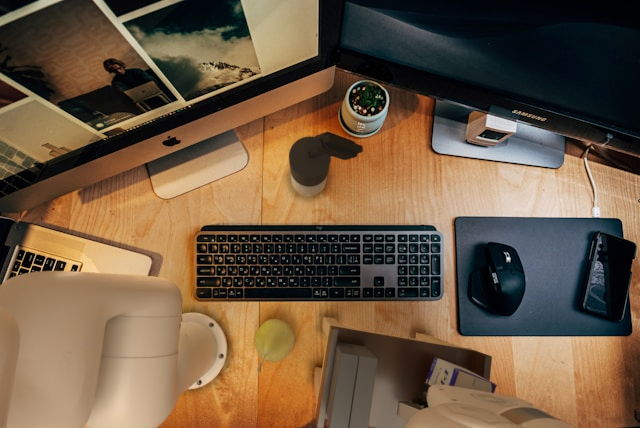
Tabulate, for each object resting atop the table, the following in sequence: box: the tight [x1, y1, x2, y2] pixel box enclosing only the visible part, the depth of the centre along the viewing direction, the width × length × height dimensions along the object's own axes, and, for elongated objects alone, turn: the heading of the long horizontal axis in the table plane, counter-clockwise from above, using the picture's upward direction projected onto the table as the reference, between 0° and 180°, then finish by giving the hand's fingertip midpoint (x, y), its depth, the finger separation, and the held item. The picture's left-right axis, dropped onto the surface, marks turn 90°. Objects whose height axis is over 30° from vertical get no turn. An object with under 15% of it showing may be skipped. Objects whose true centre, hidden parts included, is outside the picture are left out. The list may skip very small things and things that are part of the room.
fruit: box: [253, 318, 297, 374], centre depth 71 cm, size 7×8×12 cm
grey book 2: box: [348, 344, 378, 428], centre depth 49 cm, size 2×8×10 cm, turn 170°
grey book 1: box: [326, 342, 359, 428], centre depth 49 cm, size 2×8×10 cm, turn 171°
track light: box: [288, 131, 364, 197], centre depth 72 cm, size 6×17×20 cm
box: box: [425, 357, 498, 393], centre depth 48 cm, size 8×4×9 cm, turn 157°
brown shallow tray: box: [315, 326, 493, 428], centre depth 53 cm, size 19×11×5 cm, turn 80°
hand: (450, 402), depth 48 cm, fingers closed on box, 5 cm apart
